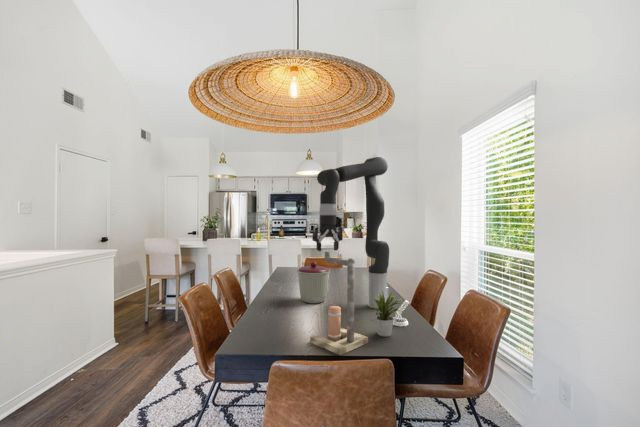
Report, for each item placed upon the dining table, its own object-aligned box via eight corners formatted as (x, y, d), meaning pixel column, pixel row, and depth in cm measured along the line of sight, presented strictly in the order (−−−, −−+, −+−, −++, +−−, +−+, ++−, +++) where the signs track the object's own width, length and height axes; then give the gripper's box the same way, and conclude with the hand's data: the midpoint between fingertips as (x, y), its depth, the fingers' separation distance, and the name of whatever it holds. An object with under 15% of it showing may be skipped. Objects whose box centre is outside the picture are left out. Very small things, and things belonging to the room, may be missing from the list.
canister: (336, 299, 171) (336, 261, 171) (318, 307, 156) (318, 265, 156) (309, 295, 181) (309, 258, 181) (289, 302, 165) (289, 262, 165)
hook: (422, 314, 130) (410, 305, 129) (404, 336, 131) (392, 327, 130) (415, 305, 137) (403, 297, 136) (398, 326, 139) (386, 318, 137)
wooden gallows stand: (310, 342, 113) (310, 253, 113) (338, 331, 123) (338, 250, 124) (340, 355, 103) (340, 257, 103) (368, 342, 113) (368, 253, 113)
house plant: (396, 345, 111) (396, 299, 111) (360, 337, 118) (360, 293, 118) (407, 333, 123) (408, 291, 123) (374, 326, 130) (374, 286, 130)
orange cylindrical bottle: (336, 337, 118) (336, 305, 118) (343, 341, 114) (343, 308, 114) (325, 339, 115) (325, 306, 116) (332, 343, 111) (332, 309, 112)
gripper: (318, 214, 133) (317, 252, 133) (345, 214, 140) (345, 250, 140) (309, 214, 140) (309, 250, 140) (336, 214, 147) (336, 249, 147)
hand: (327, 250), depth 140 cm, fingers open, 8 cm apart
